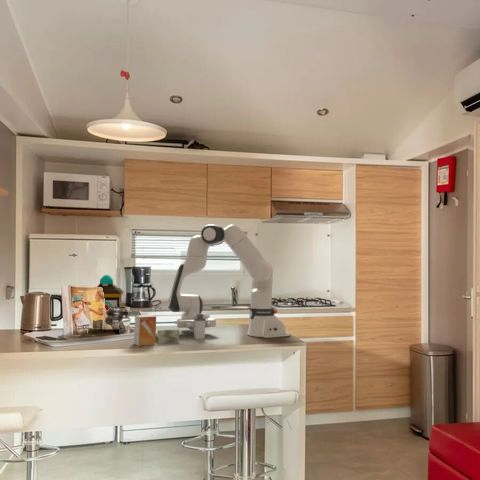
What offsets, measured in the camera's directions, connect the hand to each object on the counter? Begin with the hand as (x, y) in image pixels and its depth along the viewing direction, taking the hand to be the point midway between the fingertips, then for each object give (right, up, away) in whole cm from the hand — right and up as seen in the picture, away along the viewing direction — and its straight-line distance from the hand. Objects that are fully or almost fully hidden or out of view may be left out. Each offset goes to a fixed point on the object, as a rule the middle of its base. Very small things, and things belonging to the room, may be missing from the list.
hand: (199, 325), depth 223 cm
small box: (-23, -5, -19) cm, 31 cm away
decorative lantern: (-52, -6, +15) cm, 54 cm away
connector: (0, -7, 0) cm, 7 cm away
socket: (-15, -6, -9) cm, 19 cm away
